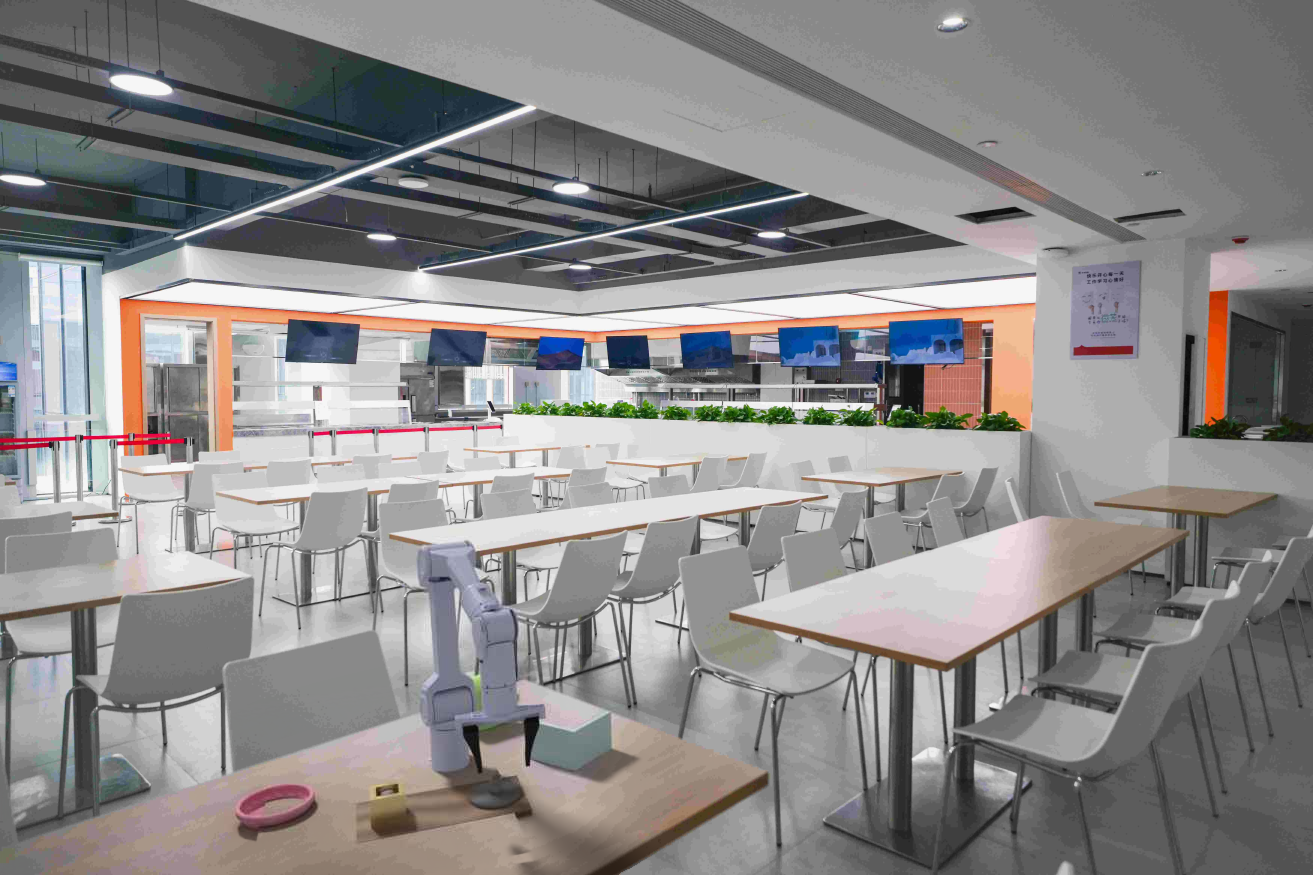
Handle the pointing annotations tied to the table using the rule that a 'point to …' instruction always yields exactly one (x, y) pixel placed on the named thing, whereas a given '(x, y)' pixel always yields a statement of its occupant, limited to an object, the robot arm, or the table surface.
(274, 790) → the pink ring
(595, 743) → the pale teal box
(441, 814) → the board
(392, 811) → the collar
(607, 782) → the table surface
